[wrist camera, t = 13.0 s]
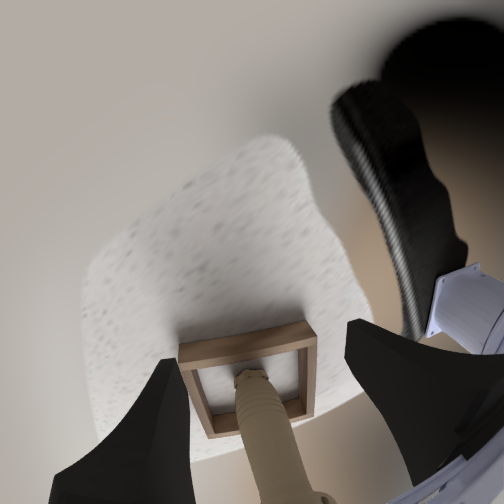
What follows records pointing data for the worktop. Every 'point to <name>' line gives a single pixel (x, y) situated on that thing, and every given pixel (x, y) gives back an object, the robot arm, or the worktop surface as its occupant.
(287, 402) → the collar
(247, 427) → the handle
